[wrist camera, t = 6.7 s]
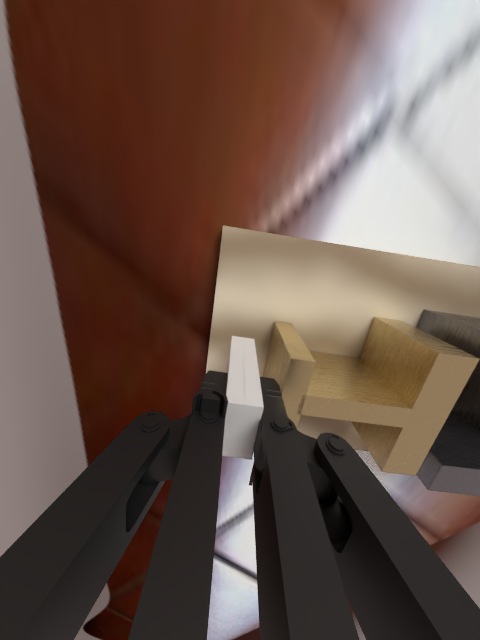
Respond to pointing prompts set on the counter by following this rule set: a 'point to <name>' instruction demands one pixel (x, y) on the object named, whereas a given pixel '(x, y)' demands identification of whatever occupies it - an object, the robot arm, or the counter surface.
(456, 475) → the dark grey hollow housing
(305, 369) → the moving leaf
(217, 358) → the mounting board
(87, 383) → the counter surface
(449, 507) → the counter surface
